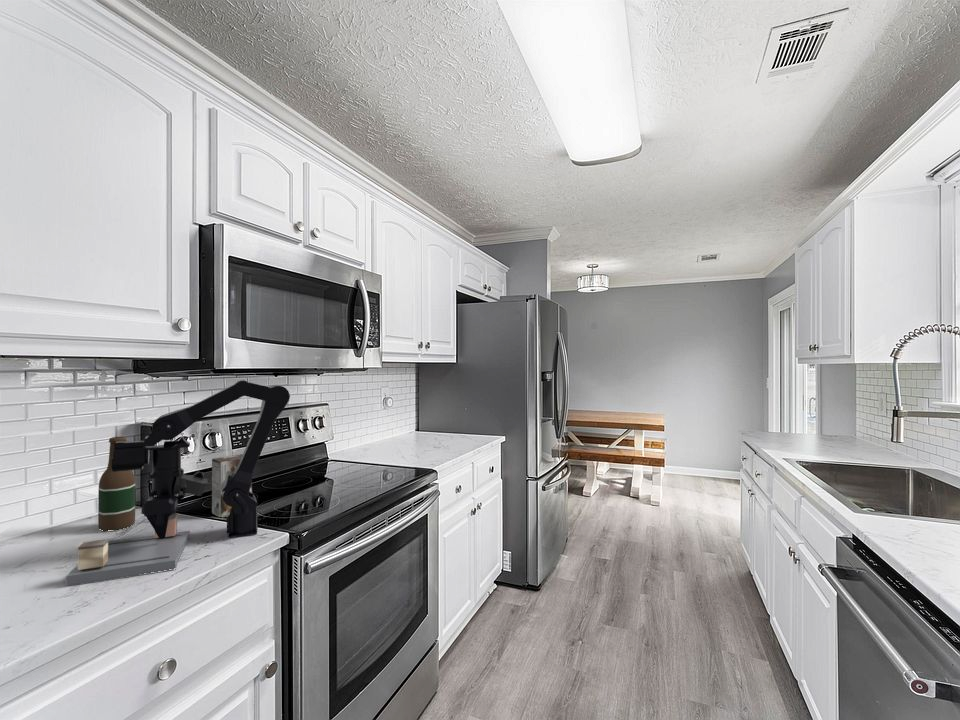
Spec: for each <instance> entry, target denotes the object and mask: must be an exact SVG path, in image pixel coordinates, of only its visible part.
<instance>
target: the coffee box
mask: <svg viewBox="0 0 960 720" xmlns="http://www.w3.org/2000/svg"><path fill="white" fill-rule="evenodd" d="M242 455H243V453H242V454H241V453H240V454H234V455H233V454H232V455H228V456H221V457H216V458H212V459H211V513H212V514H213V515H215V516H216V517H217V518H220V517H222V518H225V517H226V518H227V516H228V514H230V508H232V507H230V506H228V505H227V504H225V502H224V500H223V496H222V490H221V484H222V483H223V482H224V480H225V477H226V473H227V471H230V472H232V473H233V471H234V470H235V469H236V468H237V466H238V464H239V462H240V460H241V457H242ZM250 492H251V493H252V494H253V480H252V481H251V487H250Z"/></svg>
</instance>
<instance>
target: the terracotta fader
mask: <svg viewBox="0 0 960 720" xmlns="http://www.w3.org/2000/svg"><path fill="white" fill-rule="evenodd" d="M177 532H178V512H176V513H174V514H171V515H170V517H169V522H168V526H167V531H166V536H165V537H169V536H175V534H176V533H177ZM154 535H155V538H159V537H158V535H157V534H156V532H155V531H154Z"/></svg>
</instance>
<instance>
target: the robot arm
mask: <svg viewBox="0 0 960 720" xmlns="http://www.w3.org/2000/svg"><path fill="white" fill-rule="evenodd" d="M242 397H248V398H253V399H256V400H261V404H260V412H259V417H258V419H257V420H256V422H255V425H254V428H253V430H252V433H251V434H250V437H249V439H248V441H247V443H246V446H245V448H244V451H243V452H242V454H243V455H242V457H241V460H240V462H239V464H238V466H237V468H236V469H235V470H234V471H233V473H232V472H230V471H227V473H226V477H225V480H224V482H223V483H222V484H221V490H222V496H223V500H224V502H225V504H227V505H228V506H230V507H232V508H230V514H228V516H226V533H227V536H228V538H230V539H231V538H235V537H237V538H238V537H244V536H245V537H246V536H252V535H257V534H258V528H259V527H258V504H259V503H258V500H257V498H256V495H255V494H254V493H253V492H252V493H251V492H250V487H251V481H252V482H253V474H254V471H255V468H256V466H257V463H258V461H259V458H260V456H261V453H262V451H263V449H264V447H265V445H266V442H267V441H268V439H269V435H270V433H271V431H272V429H273V426H274V423H275V421H276V420H277V418H278V417H279V416H280V415H281V413H283V411H284V409H285V408H286V406H287V405H288V403H289V401H290V398H291V393H290V391H289V390H288V389H287V388H286V387H285V386H282V385H279V384H273V385H270V386H266V385H262V384H257V383H253V382H249V381H247V380H244V379H243V380H241V379H240V380H237V381H236V382H235V383H234V384H232V385H230V386H228V387H225V388H224V389H221V390H220V391H218V392H215V393H214V394H212V395H209V396H208V397H206V398H204V399H202V400H200V401H198V402H196V403H194V404H192V405H190V406H187V407H184V408H180V409H176V410H174V411H171V412H168V413H167V412H166V413H164V414H162V415H160V416H159V417H157V418H156V419H155V420H154V422H153V424H152V425H151V432H150V433H149V435H146V436H145V437H144V440H135V441H125V442H124V441H119V442H116V443H115V444H114V451H113V457H112V471H113V472H118V471H129V470H131V471H138V470H144V467H145V466H146V465H150V459H152V460H151V461H152V463H151V466H152V467H151V468H152V470H151V473H150V474H149V479H150V480H151V490H150V491H149V497H148V499H146V500H145V501H144V502H143V504H142V505H141V514H142V515H144V517H146V519H147V520H148V522H149V524H150V525H151V526H152V528H153V531H154V533H155V532H156V534H157V535H158V537H159V538H160V539H162V538H165V536H166V531H167V526H168V522H169V517H170V515H171V514H174V513H177V509H178V505H179V503H180V502H181V501H182V500H183V499H184V498H185V497H186V495H187V494H191V495H194V496H197V497H201V496H203V494H204V491H205V489H206V486H207V485H208V483H209V479H208V478H205V473H204V472H202V471H197V472H195V473H194V474H193V475H192V474H189V475H188V474H185V472H184V471H185V469H183V468H182V448H190V446H191V443H190V441H187V440H186V439H185V437H184V436H181V437H180V438H179V439H177V440H173V439H175V438H177V436H179V435H180V434H181V433H183V432H184V431H186V430H187V429H189V427H191V426H192V425H193V424H194V423H196V422H197V421H199V420H200V419H202V418H204V417H206V416H208V415H210V414H211V413H213V412H216V411H217V410H219V409H222V408H224V407H226V406H227V405H229V404H231V403H233V402H235V401H236V400H239V399H240V398H242ZM161 441H163V444H159V445H157V444H158V443H160V442H161ZM150 451H152V458H150V456H151V454H150ZM181 492H182V493H181Z"/></svg>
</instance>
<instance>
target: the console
mask: <svg viewBox="0 0 960 720" xmlns="http://www.w3.org/2000/svg"><path fill="white" fill-rule="evenodd" d="M190 532H191V531H190V530H187V531H186V530H185V531H177V533H176V534H175V536H169V537H165V538H162V539H160V538H155V534H154V535H146V536H138V537H130V538H129V537H128V538H120V539H112V540H108V561H107V562H106V564H105V565H104V566H103V567H96V568H89V569H82V570H78V564H77V565H76V566H75V567H74V568H73V569H71V571H70V572H69V573H68V574H67V575H66V587H71V586H77V585H84V584H91V583H96V582H104V580H105V581H109V580H110V579H111V580H116V579H115V578H118V579H122V578H121V577H124V578H128V577H127V576H131V577H134V576H133V575H138V576H140V575H139V574H144V573H151V572H157V573H159V572H158V571H164V570H169V569H174V568H176V569H177V567H178V565H177V563H178V562H180V561H179V559H180V560H181V558H182V556H183V554H184V552H185V550H186V548H185V547H187V546H186V545H188V543H189V541H190V539H189V538H190V536H191V535H190V534H191V533H190ZM188 540H189V541H188ZM184 549H185V550H184ZM183 551H184V552H183ZM182 553H183V554H182ZM181 555H182V556H181ZM180 557H181V558H180ZM178 564H179V563H178ZM176 566H177V567H176ZM164 572H165V571H164ZM151 574H152V573H151ZM144 575H145V574H144Z"/></svg>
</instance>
